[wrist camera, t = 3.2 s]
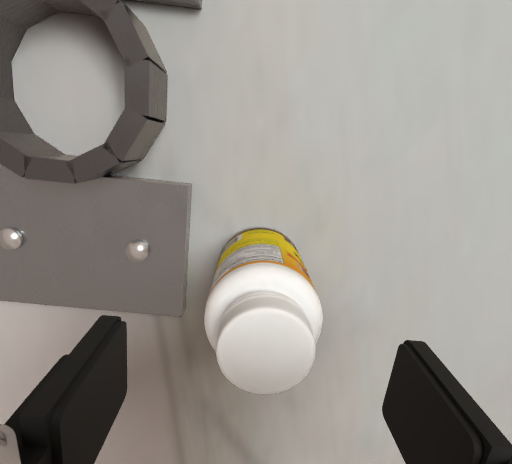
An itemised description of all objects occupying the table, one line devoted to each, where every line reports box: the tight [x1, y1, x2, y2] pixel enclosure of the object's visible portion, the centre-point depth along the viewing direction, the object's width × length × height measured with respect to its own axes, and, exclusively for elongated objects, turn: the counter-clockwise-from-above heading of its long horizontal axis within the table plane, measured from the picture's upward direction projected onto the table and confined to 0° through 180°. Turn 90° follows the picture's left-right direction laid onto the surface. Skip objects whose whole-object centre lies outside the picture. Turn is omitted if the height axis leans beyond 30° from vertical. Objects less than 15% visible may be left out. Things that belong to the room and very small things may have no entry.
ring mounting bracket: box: [0, 0, 202, 317], centre depth 18 cm, size 28×14×4 cm, turn 174°
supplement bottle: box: [204, 227, 323, 395], centre depth 18 cm, size 6×6×10 cm
